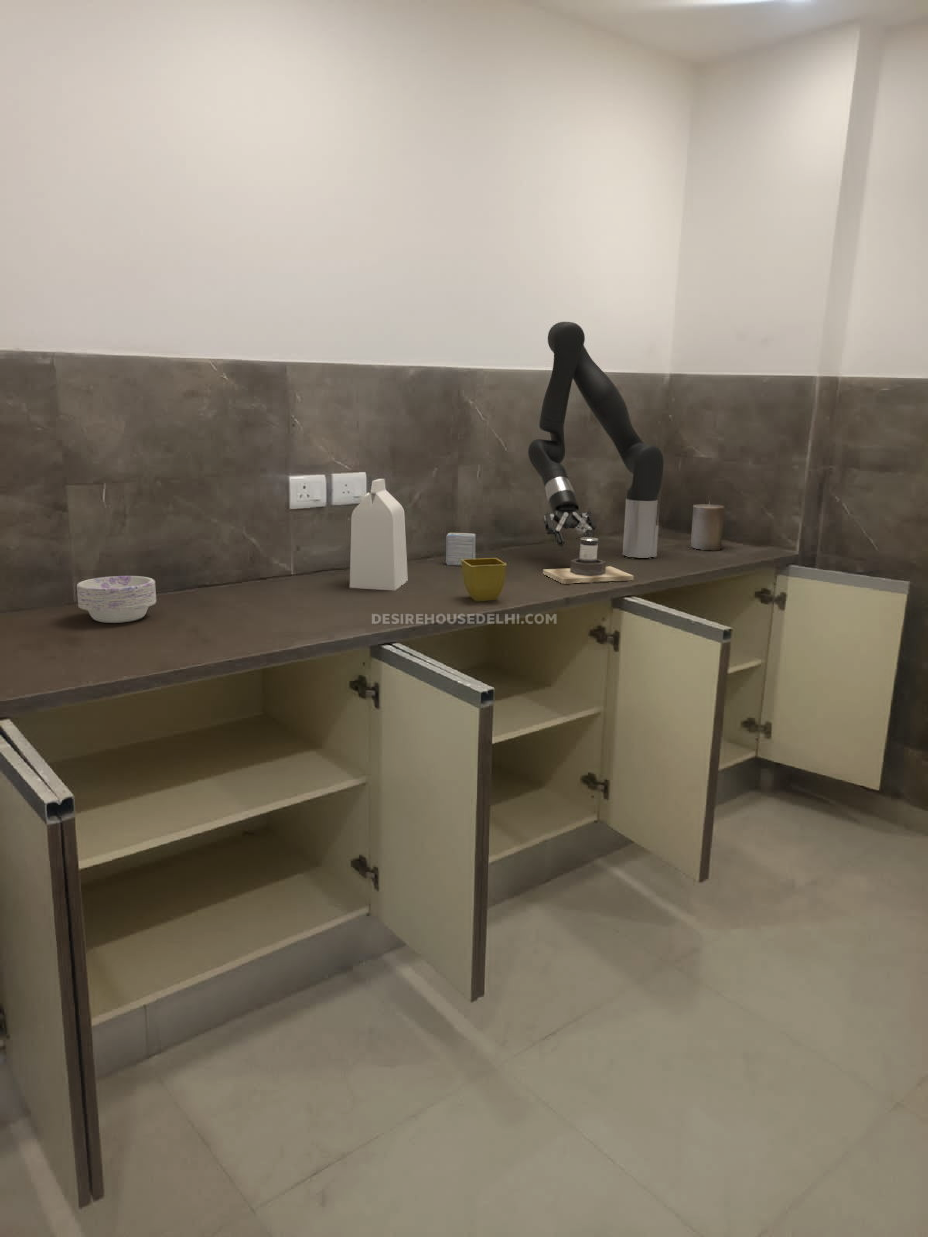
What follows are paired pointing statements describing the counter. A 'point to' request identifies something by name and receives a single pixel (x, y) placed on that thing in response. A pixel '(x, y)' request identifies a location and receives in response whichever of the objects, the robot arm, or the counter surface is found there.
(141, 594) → the paper bowls
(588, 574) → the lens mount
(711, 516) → the pillar candle
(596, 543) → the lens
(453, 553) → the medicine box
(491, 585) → the flower pot
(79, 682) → the counter surface
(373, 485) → the milk
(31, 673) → the counter surface
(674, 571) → the counter surface
